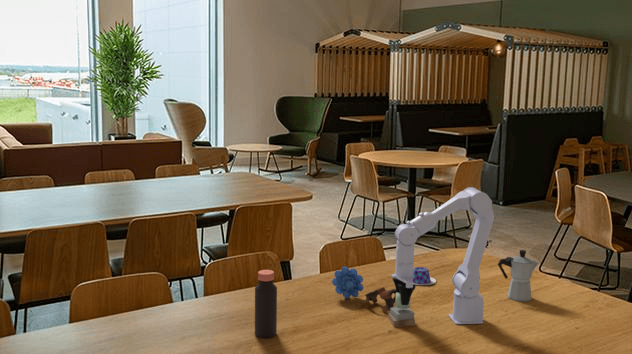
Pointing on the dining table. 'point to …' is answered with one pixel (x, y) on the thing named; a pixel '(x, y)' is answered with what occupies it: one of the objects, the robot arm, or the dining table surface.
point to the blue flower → (348, 282)
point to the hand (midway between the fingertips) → (402, 301)
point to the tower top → (402, 313)
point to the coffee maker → (519, 276)
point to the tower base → (401, 321)
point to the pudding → (422, 276)
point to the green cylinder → (398, 302)
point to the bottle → (265, 305)
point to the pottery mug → (383, 295)
